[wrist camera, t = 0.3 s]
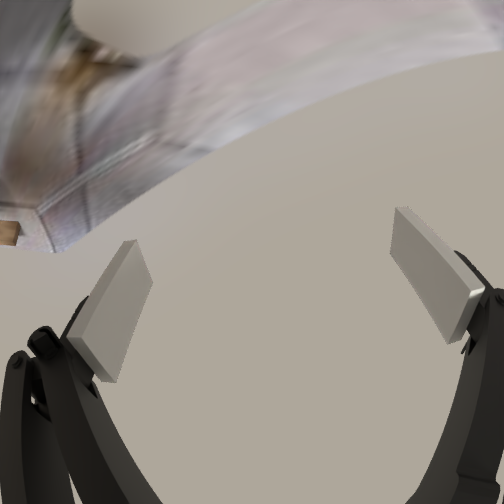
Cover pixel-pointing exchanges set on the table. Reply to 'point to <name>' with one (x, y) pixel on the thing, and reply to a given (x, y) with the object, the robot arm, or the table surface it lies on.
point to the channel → (9, 232)
